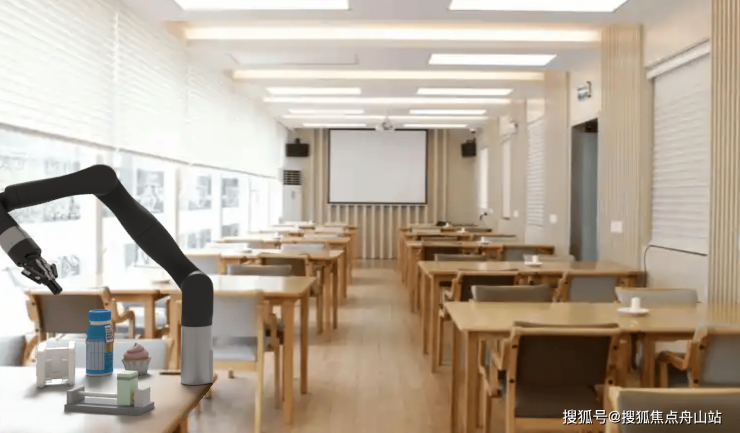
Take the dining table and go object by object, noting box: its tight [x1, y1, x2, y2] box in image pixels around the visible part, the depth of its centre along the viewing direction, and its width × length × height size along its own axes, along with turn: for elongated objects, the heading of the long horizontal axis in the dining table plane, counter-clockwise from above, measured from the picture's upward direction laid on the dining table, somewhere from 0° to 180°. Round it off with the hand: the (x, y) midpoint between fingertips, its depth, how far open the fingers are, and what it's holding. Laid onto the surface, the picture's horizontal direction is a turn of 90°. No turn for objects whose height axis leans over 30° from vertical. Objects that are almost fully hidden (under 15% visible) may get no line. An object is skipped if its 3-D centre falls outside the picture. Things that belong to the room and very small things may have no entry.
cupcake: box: [120, 342, 152, 376], centre depth 237 cm, size 9×9×10 cm
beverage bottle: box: [84, 308, 115, 377], centre depth 236 cm, size 8×8×20 cm
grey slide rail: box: [63, 385, 155, 416], centre depth 195 cm, size 21×8×6 cm, turn 78°
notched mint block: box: [116, 369, 139, 406], centre depth 194 cm, size 4×4×8 cm
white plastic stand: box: [34, 340, 76, 389], centre depth 223 cm, size 15×11×12 cm
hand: (59, 292), depth 203 cm, fingers closed
